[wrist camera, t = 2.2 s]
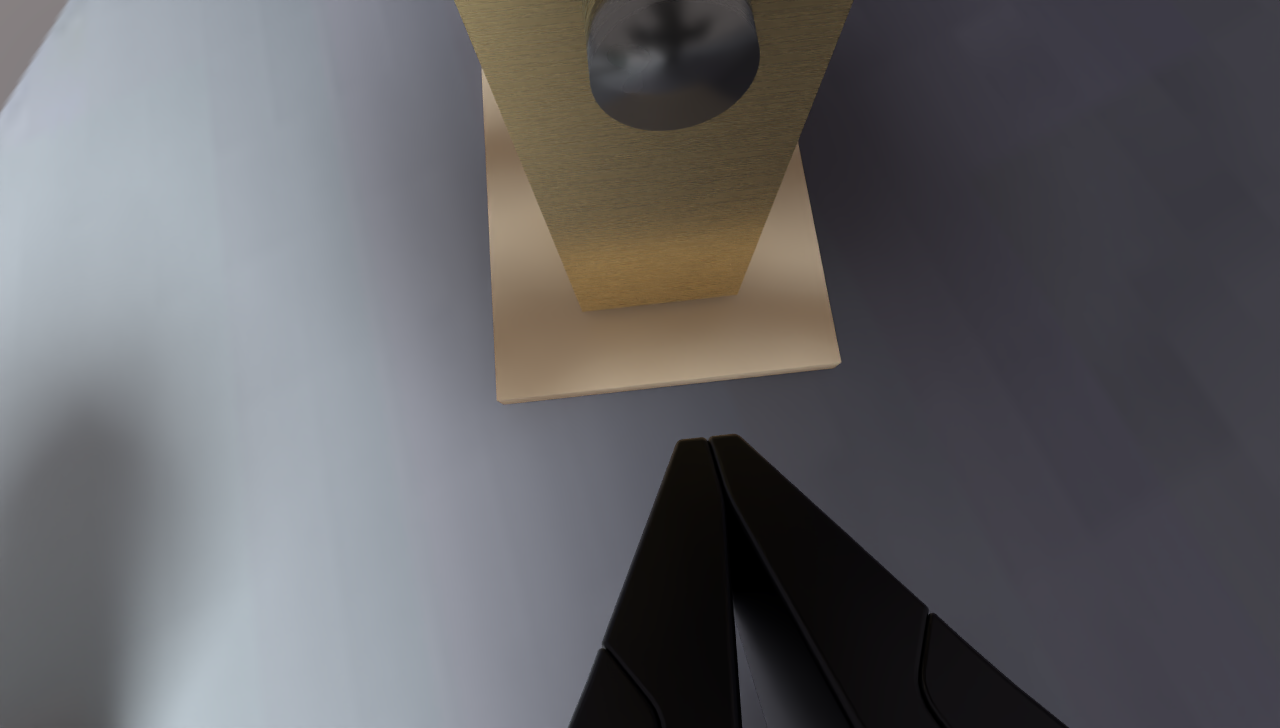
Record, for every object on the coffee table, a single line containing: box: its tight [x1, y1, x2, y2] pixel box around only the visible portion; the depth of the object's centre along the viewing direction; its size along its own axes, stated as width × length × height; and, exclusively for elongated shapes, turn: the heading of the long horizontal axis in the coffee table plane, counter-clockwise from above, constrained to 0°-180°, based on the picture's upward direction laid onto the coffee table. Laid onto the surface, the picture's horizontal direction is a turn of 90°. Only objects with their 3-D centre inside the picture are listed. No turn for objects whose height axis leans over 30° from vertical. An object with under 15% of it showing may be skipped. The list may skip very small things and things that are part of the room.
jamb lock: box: [482, 69, 841, 404], centre depth 16 cm, size 16×11×9 cm, turn 6°
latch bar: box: [454, 0, 853, 312], centre depth 11 cm, size 6×5×14 cm
